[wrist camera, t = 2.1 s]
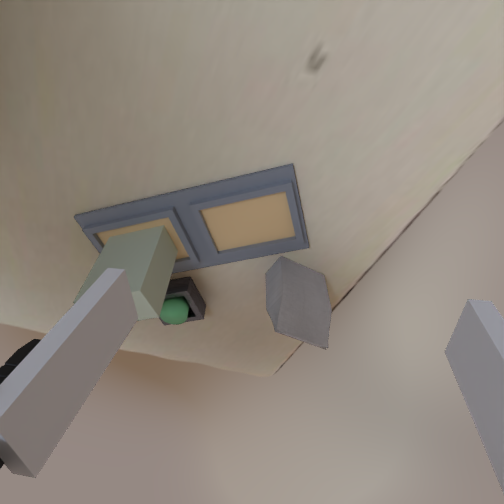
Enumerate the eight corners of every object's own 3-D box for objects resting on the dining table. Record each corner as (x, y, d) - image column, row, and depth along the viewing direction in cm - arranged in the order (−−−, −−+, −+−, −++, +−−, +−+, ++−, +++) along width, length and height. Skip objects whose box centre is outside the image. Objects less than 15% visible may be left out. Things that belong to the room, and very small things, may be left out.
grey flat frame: (124, 280, 44) (121, 286, 43) (75, 215, 37) (70, 220, 36) (308, 245, 40) (309, 251, 39) (292, 163, 33) (293, 168, 32)
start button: (170, 312, 46) (166, 326, 44) (159, 295, 44) (154, 309, 42) (193, 308, 46) (191, 322, 44) (183, 291, 43) (180, 305, 42)
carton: (126, 261, 41) (96, 327, 33) (109, 236, 38) (73, 302, 31) (178, 250, 40) (159, 317, 32) (163, 225, 37) (139, 290, 30)
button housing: (167, 311, 48) (164, 325, 46) (149, 284, 44) (144, 298, 43) (206, 304, 47) (203, 319, 45) (190, 276, 43) (187, 290, 41)
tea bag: (280, 255, 41) (285, 321, 33) (324, 274, 43) (338, 340, 35) (265, 273, 43) (267, 339, 35) (307, 291, 45) (317, 356, 37)
